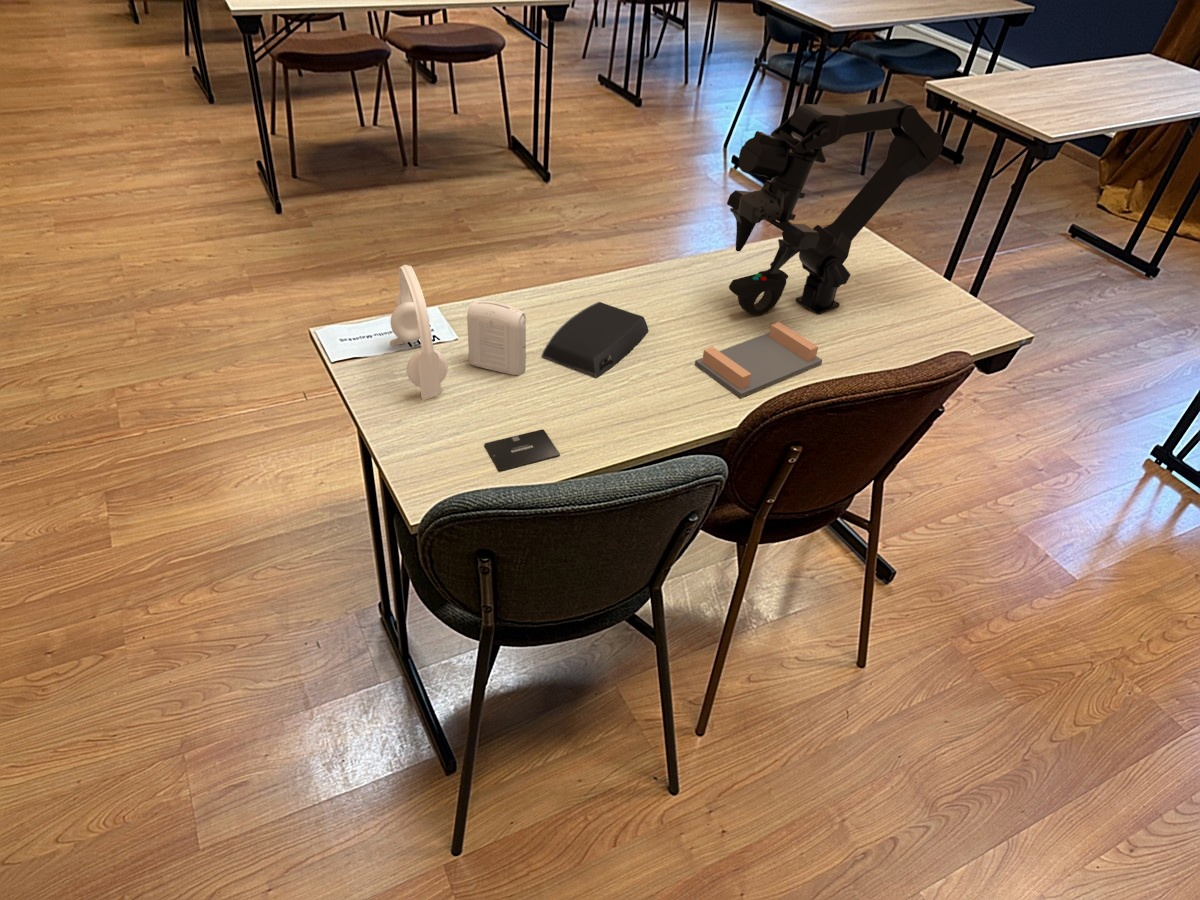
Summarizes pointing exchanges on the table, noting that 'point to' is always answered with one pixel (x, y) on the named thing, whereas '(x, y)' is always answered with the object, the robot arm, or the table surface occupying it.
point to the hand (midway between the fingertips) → (754, 262)
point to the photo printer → (496, 337)
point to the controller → (759, 290)
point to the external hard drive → (596, 339)
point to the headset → (417, 335)
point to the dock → (760, 361)
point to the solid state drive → (521, 450)
